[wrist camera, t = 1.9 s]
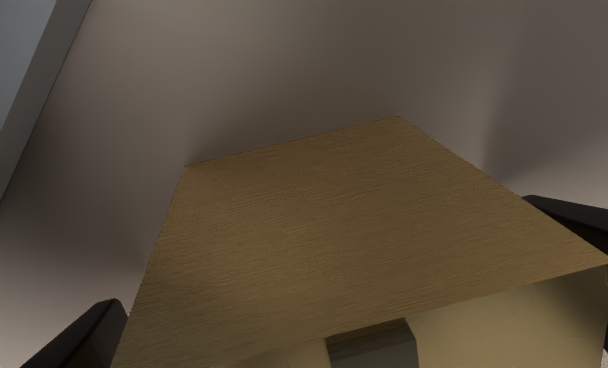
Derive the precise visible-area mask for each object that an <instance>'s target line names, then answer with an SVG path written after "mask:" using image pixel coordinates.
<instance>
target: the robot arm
mask: <svg viewBox="0 0 608 368" xmlns="http://www.w3.org/2000/svg"><path fill="white" fill-rule="evenodd" d="M521 198H522V199H524V200H525V201H527V202H528V203H530V204H531V205H533V206H534V207H536V208H537V209H539V210H540V211H542V212H543V213H545V214H546V215H548V216H549V217H551V218H552V219H554V220H555V221H557V222H558V223H560V224H561V225H563V226H564V227H566V228H567V229H569V230H570V231H572V232H573V233H575V234H576V235H578V236H579V237H581V238H582V239H584V240H585V241H586V242H588V243H589V244H591V245H592V246H594V247H595V248H597V249H598V250H600V251H601V252H603V253H604V254H606V255H607V256H608V209H603V208H598V207H593V206H588V205H583V204H578V203H572V202H567V201H562V200H557V199H552V198H546V197H541V196H536V195H527V196H523V197H521ZM127 320H128V316H127V314H126V312H125V310H124V308H123V306H122V304H121V302H120V301H119V300H118V299H115V298H113V299H109V300H105V301H101V302H98V303H96V304H95V305H93V306H92V307H91V308H90V309H89V310H87V311H86V312H85V313H84V314H83V315H81V316H80V317H79V318H78V319H77V320H76V321H74V322H73V323H72V324H71V325H70V326H68V327H67V328H66V329H65V330H64V331H62V332H61V333H60V334H59V335H58V336H57V337H55V338H54V339H53V340H52V341H51V342H49V343H48V344H47V345H46V346H45V347H43V348H42V349H41V350H40V351H39V352H38V353H36V354H35V355H34V356H33V357H32V358H30V359H29V360H28V361H27V362H26V363H24V364H23V365H22V366H21V367H20V368H110V366H111V363H112V360H113V358H114V355H115V352H116V350H117V347H118V344H119V342H120V339H121V336H122V334H123V331H124V328H125V326H126V323H127ZM603 348H604V349H605V350H606V352H607V353H608V320H607V327H606V333H605V340H604V347H603Z"/></svg>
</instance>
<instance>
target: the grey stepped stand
mask: <svg viewBox="0 0 608 368" xmlns="http://www.w3.org/2000/svg"><path fill="white" fill-rule="evenodd" d="M90 2H91V0H0V201H1V198H2V196H3V194H4V192H5V190H6V187H7V185H8V183H9V181H10V179H11V176H12V174H13V172H14V170H15V168H16V165H17V163H18V161H19V159H20V157H21V154H22V152H23V150H24V148H25V146H26V143H27V141H28V139H29V137H30V135H31V132H32V130H33V128H34V126H35V124H36V121H37V119H38V117H39V115H40V112H41V110H42V108H43V106H44V104H45V101H46V99H47V97H48V95H49V93H50V90H51V88H52V86H53V84H54V82H55V79H56V77H57V75H58V73H59V71H60V68H61V66H62V64H63V62H64V60H65V57H66V55H67V53H68V51H69V49H70V46H71V44H72V42H73V40H74V38H75V35H76V33H77V31H78V29H79V26H80V24H81V22H82V20H83V18H84V15H85V13H86V11H87V9H88V7H89V4H90Z"/></svg>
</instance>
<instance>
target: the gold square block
mask: <svg viewBox="0 0 608 368" xmlns="http://www.w3.org/2000/svg"><path fill="white" fill-rule="evenodd" d="M607 320H608V256H607V255H606V254H604V253H603V252H601V251H600V250H598V249H597V248H595V247H594V246H592V245H591V244H589V243H588V242H586V241H585V240H584V239H582V238H581V237H579V236H578V235H576V234H575V233H573V232H572V231H570V230H569V229H567V228H566V227H564V226H563V225H561V224H560V223H558V222H557V221H555V220H554V219H552V218H551V217H549V216H548V215H546V214H545V213H543V212H542V211H540V210H539V209H537V208H536V207H534V206H533V205H531V204H530V203H528V202H527V201H525V200H524V199H522V198H521V197H519V196H518V195H516V194H515V193H513V192H512V191H510V190H509V189H507V188H506V187H504V186H503V185H501V184H500V183H498V182H497V181H495V180H494V179H492V178H491V177H489V176H488V175H486V174H485V173H483V172H482V171H480V170H479V169H477V168H476V167H474V166H473V165H471V164H470V163H468V162H467V161H465V160H464V159H462V158H461V157H459V156H458V155H456V154H455V153H453V152H452V151H450V150H449V149H447V148H446V147H444V146H443V145H441V144H440V143H438V142H437V141H435V140H434V139H432V138H431V137H429V136H428V135H426V134H425V133H423V132H422V131H420V130H419V129H417V128H416V127H414V126H413V125H411V124H410V123H409V122H407V121H406V120H404V119H403V118H401V117H400V116H396V117H392V118H387V119H383V120H379V121H375V122H370V123H366V124H362V125H358V126H353V127H349V128H345V129H341V130H336V131H332V132H328V133H324V134H319V135H315V136H311V137H307V138H302V139H298V140H294V141H290V142H285V143H281V144H277V145H273V146H269V147H264V148H260V149H256V150H252V151H247V152H243V153H239V154H235V155H230V156H226V157H222V158H218V159H213V160H209V161H205V162H201V163H196V164H192V165H188V166H185V167H184V170H183V173H182V175H181V178H180V181H179V183H178V186H177V189H176V191H175V194H174V197H173V199H172V202H171V205H170V207H169V210H168V213H167V216H166V218H165V221H164V224H163V226H162V229H161V232H160V234H159V237H158V240H157V242H156V245H155V248H154V250H153V253H152V256H151V258H150V261H149V264H148V267H147V269H146V272H145V275H144V277H143V280H142V283H141V285H140V288H139V291H138V293H137V296H136V299H135V301H134V304H133V307H132V309H131V312H130V315H129V318H128V320H127V323H126V326H125V328H124V331H123V334H122V336H121V339H120V342H119V344H118V347H117V350H116V352H115V355H114V358H113V360H112V363H111V366H110V368H600V367H601V360H602V353H603V347H604V340H605V333H606V327H607Z"/></svg>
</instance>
